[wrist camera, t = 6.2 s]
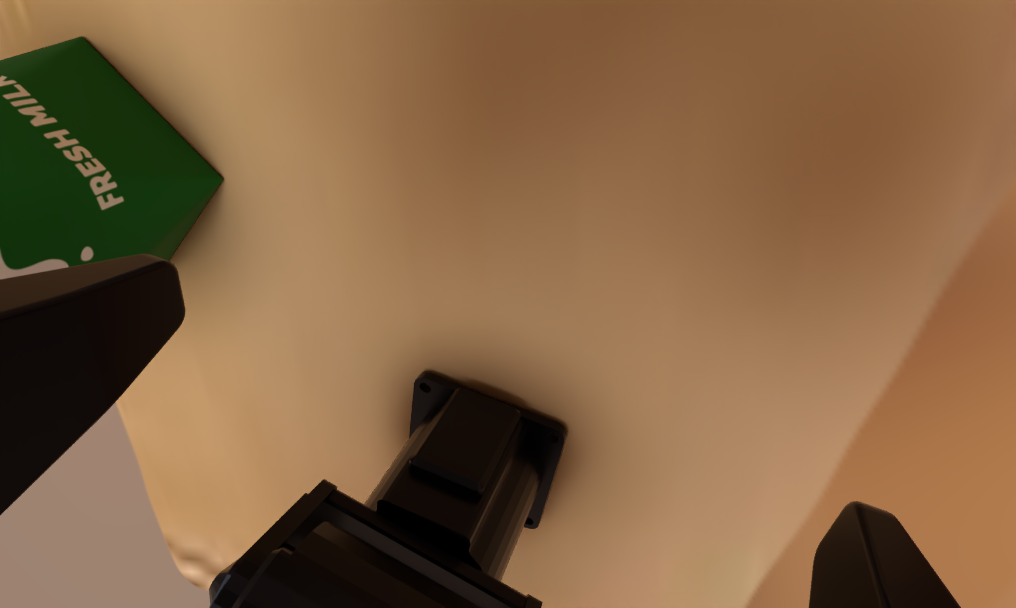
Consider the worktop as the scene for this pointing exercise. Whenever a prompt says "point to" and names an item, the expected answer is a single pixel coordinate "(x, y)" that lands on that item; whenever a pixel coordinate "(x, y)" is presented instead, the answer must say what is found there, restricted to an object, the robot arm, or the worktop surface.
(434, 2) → the worktop surface
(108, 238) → the milk carton
